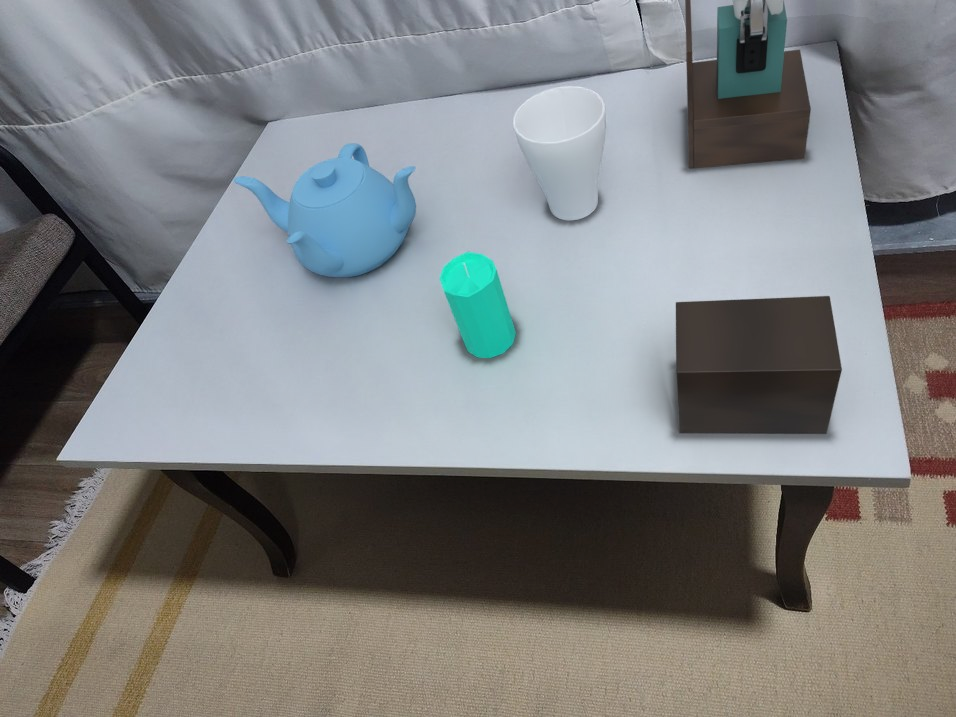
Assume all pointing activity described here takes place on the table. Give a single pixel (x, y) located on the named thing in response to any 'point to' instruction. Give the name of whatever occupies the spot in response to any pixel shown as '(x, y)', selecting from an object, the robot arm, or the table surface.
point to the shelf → (744, 115)
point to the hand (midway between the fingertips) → (749, 55)
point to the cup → (564, 146)
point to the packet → (726, 56)
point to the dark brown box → (756, 365)
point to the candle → (478, 304)
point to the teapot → (342, 213)
